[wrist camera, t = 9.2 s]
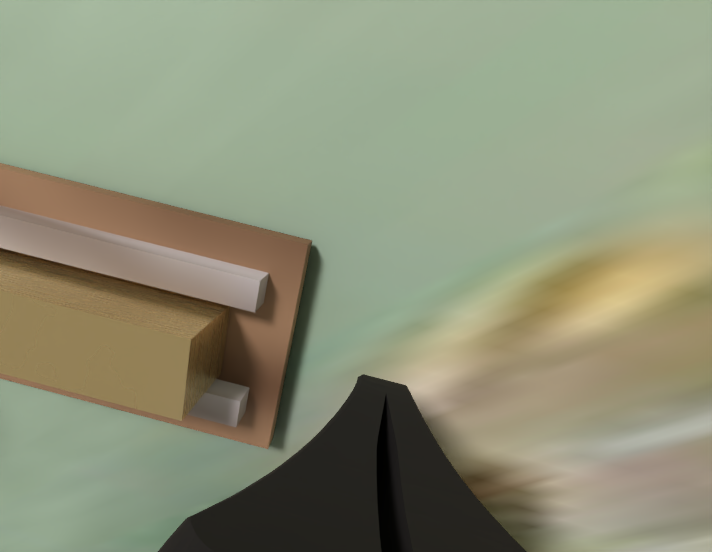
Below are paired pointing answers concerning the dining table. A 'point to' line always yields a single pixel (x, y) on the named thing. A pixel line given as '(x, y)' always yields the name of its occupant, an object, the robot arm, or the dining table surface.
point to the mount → (175, 282)
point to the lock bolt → (108, 336)
